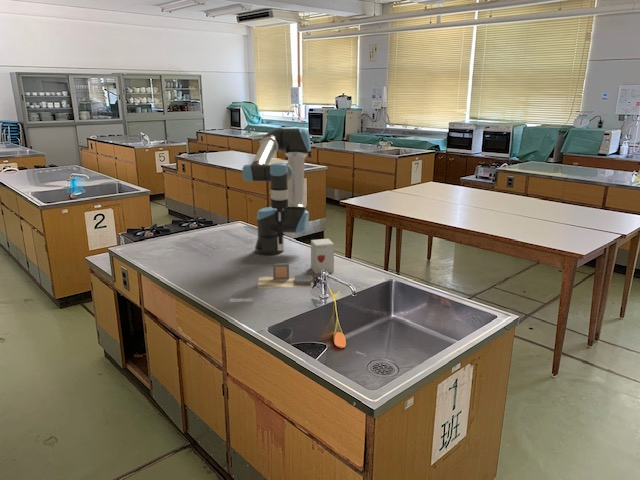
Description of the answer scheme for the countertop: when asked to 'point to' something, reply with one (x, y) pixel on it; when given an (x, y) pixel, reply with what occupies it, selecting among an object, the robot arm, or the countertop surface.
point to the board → (280, 282)
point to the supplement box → (322, 255)
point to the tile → (281, 271)
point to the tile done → (303, 280)
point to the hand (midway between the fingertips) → (280, 249)
